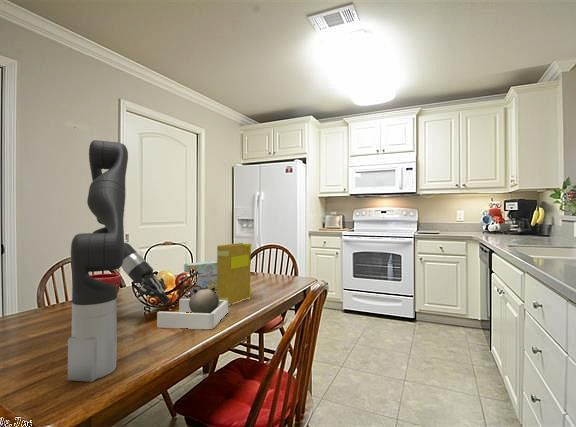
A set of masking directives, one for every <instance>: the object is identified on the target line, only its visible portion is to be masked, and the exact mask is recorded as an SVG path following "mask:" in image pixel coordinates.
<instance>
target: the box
mask: <svg viewBox="0 0 576 427" xmlns="http://www.w3.org/2000/svg"><path fill="white" fill-rule="evenodd" d="M178 301H179V304H178V311H158V312H157V313H156V314H157V315H156V327H157V328H160V329H161V328H163V329H164V328H165V329H180V328H188V329H187V330H201V329H213V328H214V327H215V326H216V325H217V324H218V323H219V322H220V320H221V319H222V318H223V317H224V316H225V315H226V314H227V313H228V314H229V307H228V300H219V304H218V307H217V308H216V309H215V310H214V311H213V312H212V313H190V312H192V311H191V310H190V307H189V301H190V298H180V299H179V300H178ZM186 312H189V313H186ZM228 314H227V315H228ZM227 315H226V316H227ZM226 316H225V317H226ZM225 317H224V318H225ZM224 318H223V319H224ZM223 319H222V320H223ZM222 320H221V321H222ZM220 323H221V322H220ZM220 323H219V324H220ZM219 324H218V325H219ZM218 325H217V326H218ZM217 326H216V327H217ZM216 327H215V328H216ZM215 328H214V329H215ZM214 329H213V330H214Z"/></svg>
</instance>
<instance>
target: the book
mask: <svg viewBox="0 0 576 427" xmlns="http://www.w3.org/2000/svg"><path fill="white" fill-rule="evenodd" d="M216 247H217V248H216V250H217V251H216V255H217V256H216V261H217V292H216V294H217V295H218V298H219V300H228V305H229V304H232V303H234V302H237V301H240V300H242V299H246V298H249V297H251V298H252V288H251V255H252V243H243V242H237V243H236V242H235V243H230V244H229V243H228V244H220V245H217V246H216Z"/></svg>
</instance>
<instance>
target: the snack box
mask: <svg viewBox="0 0 576 427" xmlns="http://www.w3.org/2000/svg"><path fill="white" fill-rule="evenodd" d="M183 266H184V267H183V270H184V271H183V274H184V273H185V272H190V270H191V269H193V270H194V271H195V272H196V271H198V273H199V274H198V277H197V282H196V284H195V285H194V286H193V288H192V289H191V291H190V294H189V296H192V294H193V293H194V292H193V290H194V289H197V291H198V290H201V289H212V288H214V287H215V290H214V291H217V260H212V261H199V262H190V263H184V265H183Z"/></svg>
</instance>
